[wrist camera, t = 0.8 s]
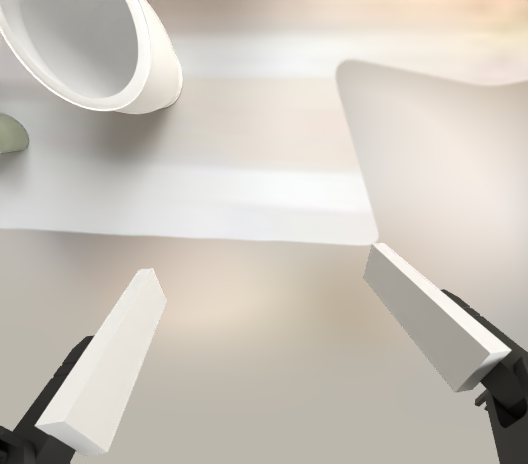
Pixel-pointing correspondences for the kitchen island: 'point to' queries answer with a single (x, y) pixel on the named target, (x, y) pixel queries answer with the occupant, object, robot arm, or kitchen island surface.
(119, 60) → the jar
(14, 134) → the sage green capsule
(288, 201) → the kitchen island surface
